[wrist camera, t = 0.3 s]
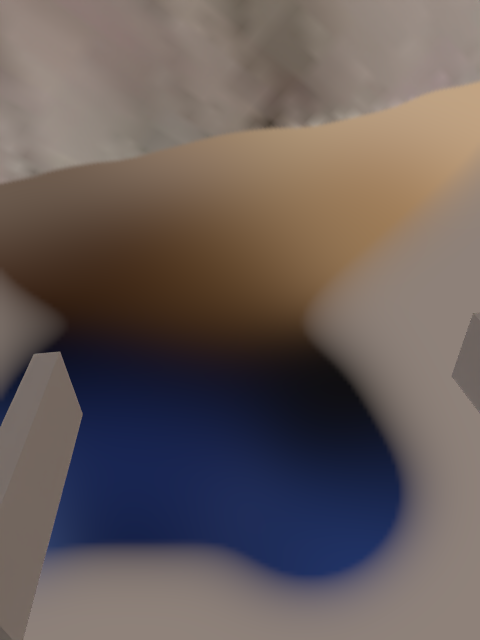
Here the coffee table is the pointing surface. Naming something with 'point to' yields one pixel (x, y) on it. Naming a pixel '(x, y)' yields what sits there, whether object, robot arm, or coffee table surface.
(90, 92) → the coffee table surface
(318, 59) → the coffee table surface
